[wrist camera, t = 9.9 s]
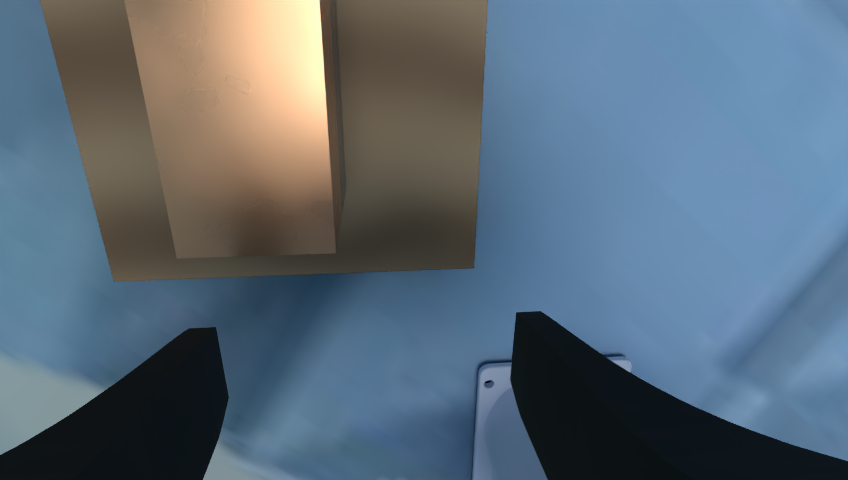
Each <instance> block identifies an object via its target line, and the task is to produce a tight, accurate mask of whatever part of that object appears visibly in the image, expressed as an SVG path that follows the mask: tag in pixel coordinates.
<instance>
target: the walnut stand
mask: <svg viewBox="0 0 848 480" xmlns="http://www.w3.org/2000/svg"><path fill="white" fill-rule="evenodd" d="M40 2H41V6H42V10H43V13H44V17H45V21H46V25H47V29H48V32H49V36H50V40H51V44H52V48H53V52H54V55H55V59H56V63H57V67H58V71H59V74H60V78H61V82H62V86H63V90H64V93H65V97H66V101H67V105H68V109H69V113H70V116H71V120H72V124H73V128H74V132H75V135H76V139H77V143H78V147H79V151H80V154H81V158H82V162H83V166H84V170H85V174H86V177H87V181H88V185H89V189H90V193H91V196H92V200H93V204H94V208H95V212H96V215H97V219H98V223H99V227H100V231H101V235H102V238H103V242H104V246H105V250H106V254H107V257H108V261H109V265H110V269H111V273H112V276H113V280H114V282H118V281H145V280H172V279H199V278H226V277H253V276H280V275H307V274H333V273H360V272H387V271H414V270H441V269H468V268H474V258H475V238H476V219H477V200H478V180H479V161H480V141H481V122H482V103H483V83H484V64H485V44H486V25H487V6H488V0H336V6H337V25H338V43H339V61H340V80H341V98H342V116H343V135H344V153H345V171H346V193H345V200H344V206H343V213H342V219H341V225H340V232H339V238H338V245H337V251H336V253H329V254H299V255H269V256H239V257H209V258H178V259H177V257H176V252H175V247H174V242H173V237H172V232H171V227H170V223H169V218H168V213H167V208H166V203H165V198H164V193H163V188H162V183H161V178H160V173H159V168H158V163H157V158H156V154H155V149H154V144H153V139H152V134H151V129H150V124H149V119H148V114H147V109H146V104H145V99H144V94H143V89H142V85H141V80H140V75H139V70H138V65H137V60H136V55H135V50H134V45H133V40H132V35H131V30H130V25H129V21H128V16H127V11H126V6H125V1H124V0H40Z"/></svg>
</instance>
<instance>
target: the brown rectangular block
mask: <svg viewBox="0 0 848 480" xmlns="http://www.w3.org/2000/svg"><path fill="white" fill-rule="evenodd" d="M124 1H125V6H126V11H127V16H128V21H129V25H130V30H131V35H132V40H133V45H134V50H135V55H136V60H137V65H138V70H139V75H140V80H141V85H142V89H143V94H144V99H145V104H146V109H147V114H148V119H149V124H150V129H151V134H152V139H153V144H154V149H155V154H156V158H157V163H158V168H159V173H160V178H161V183H162V188H163V193H164V198H165V203H166V208H167V213H168V218H169V223H170V227H171V232H172V237H173V242H174V247H175V252H176V257H177V259H178V258H209V257H239V256H269V255H299V254H329V253H336V251H337V245H338V238H339V232H340V225H341V219H342V213H343V206H344V200H345V193H346V171H345V153H344V135H343V116H342V98H341V80H340V61H339V43H338V25H337V6H336V0H124Z"/></svg>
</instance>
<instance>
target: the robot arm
mask: <svg viewBox="0 0 848 480" xmlns="http://www.w3.org/2000/svg"><path fill="white" fill-rule="evenodd" d="M631 369H632V364H631V362H630V361H629V360H628V358H626V357H623V356H617V357H605V356H603V355H602V354H600V353H599V352H598V351H596V350H595V349H593V348H592V347H590V346H589V345H587V344H586V343H585V342H583V341H582V340H580V339H579V338H578V337H576V336H575V335H573V334H572V333H571V332H569V331H568V330H567V329H565V328H564V327H562V326H561V325H560V324H558V323H557V322H555V321H554V320H553V319H551V318H550V317H548V316H547V315H545V314H544V313H542V312H541V311H536V312H516V322H515V332H514V343H513V353H512V362H510V363H492V364H485V365H483V366H482V367H481V368H480V369H479V372H478V388H477V405H476V421H475V437H474V454H473V470H472V480H848V461H845V460H841V459H838V458H835V457H831V456H828V455H824V454H821V453H818V452H814V451H811V450H808V449H804V448H801V447H797V446H794V445H791V444H788V443H785V442H782V441H779V440H777V439H774V438H771V437H768V436H765V435H763V434H760V433H757V432H754V431H751V430H749V429H746V428H744V427H741V426H739V425H736V424H733V423H731V422H728V421H726V420H724V419H721V418H719V417H717V416H714V415H712V414H710V413H708V412H705V411H703V410H701V409H698V408H696V407H694V406H692V405H690V404H688V403H686V402H683V401H681V400H679V399H677V398H675V397H673V396H672V395H670V394H668V393H666V392H664V391H662V390H660V389H658V388H656V387H654V386H652V385H651V384H649V383H647V382H645V381H644V380H642V379H640V378H638V377H637V376H635V375H633V374H632V373H631ZM487 380H492V381H491V382H490V383H485V382H486V381H487ZM228 398H229V396H228V391H227V385H226V380H225V375H224V369H223V364H222V358H221V353H220V347H219V342H218V336H217V331H216V327H211V328H191V329H187V330H186V331H184V332H183V333H182V334H180V335H179V336H177V337H176V338H175V339H173V340H172V341H171V342H169V343H168V344H167V345H165V346H164V347H163V348H162V349H160V350H159V351H158V352H156V353H155V354H154V355H152V356H151V357H150V358H149V359H147V360H146V361H145V362H143V363H142V364H141V365H139V366H138V367H137V368H135V369H134V370H133V371H131V372H130V373H129V374H127V375H126V376H125V377H124V378H122V379H121V380H119V381H118V382H117V383H115V384H114V385H112V386H111V387H109V388H108V389H107V390H105V391H104V392H102V393H101V394H99V395H98V396H97V397H95V398H94V399H92V400H91V401H90V402H88V403H87V404H85V405H84V406H82V407H81V408H79V409H78V410H76V411H75V412H73V413H72V414H70V415H69V416H67V417H66V418H64V419H62V420H61V421H59V422H58V423H56V424H54V425H53V426H51V427H49V428H48V429H46V430H44V431H43V432H41V433H39V434H38V435H36V436H34V437H32V438H31V439H29V440H28V441H26V442H24V443H22V444H20V445H19V446H17V447H15V448H13V449H11V450H9V451H7V452H5V453H3V454H2V455H0V480H203V478H204V475H205V472H206V470H207V467H208V465H209V462H210V459H211V457H212V454H213V452H214V449H215V447H216V444H217V441H218V439H219V435H220V432H221V428H222V424H223V420H224V416H225V411H226V407H227V402H228Z"/></svg>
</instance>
